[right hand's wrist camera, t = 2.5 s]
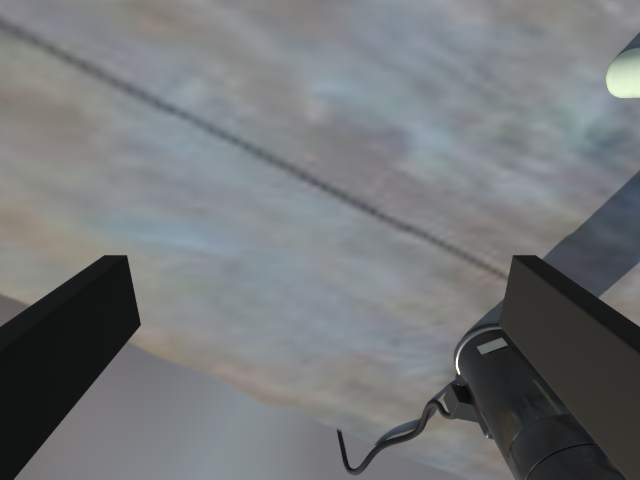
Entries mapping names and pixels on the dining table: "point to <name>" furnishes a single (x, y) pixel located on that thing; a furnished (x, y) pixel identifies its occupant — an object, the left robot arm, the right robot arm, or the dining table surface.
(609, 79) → the pale green tube
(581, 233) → the dining table surface
